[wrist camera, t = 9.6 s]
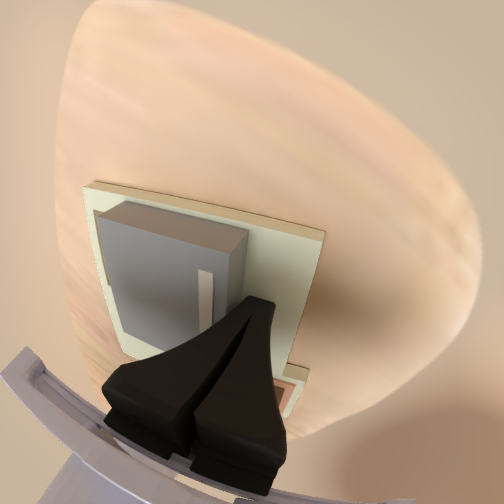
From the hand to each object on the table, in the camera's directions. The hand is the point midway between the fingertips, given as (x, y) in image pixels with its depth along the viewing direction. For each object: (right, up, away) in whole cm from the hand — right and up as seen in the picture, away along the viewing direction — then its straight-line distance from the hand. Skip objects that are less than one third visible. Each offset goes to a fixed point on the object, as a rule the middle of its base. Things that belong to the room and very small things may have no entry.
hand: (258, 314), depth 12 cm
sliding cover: (-4, +1, +1) cm, 4 cm away
